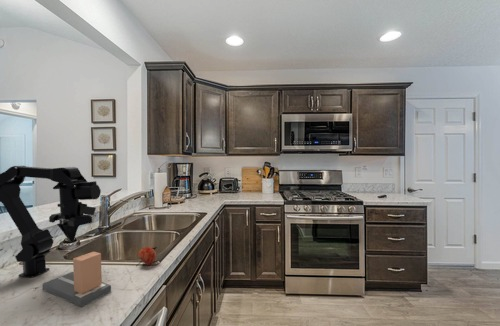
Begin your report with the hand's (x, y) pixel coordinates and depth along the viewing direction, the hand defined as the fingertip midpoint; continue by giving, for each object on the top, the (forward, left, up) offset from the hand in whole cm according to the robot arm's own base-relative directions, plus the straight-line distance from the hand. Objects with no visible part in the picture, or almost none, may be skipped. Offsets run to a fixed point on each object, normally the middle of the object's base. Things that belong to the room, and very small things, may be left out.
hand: (71, 241), depth 90 cm
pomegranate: (+24, +11, -12) cm, 29 cm away
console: (+13, -10, -12) cm, 20 cm away
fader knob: (+19, -12, -10) cm, 25 cm away
